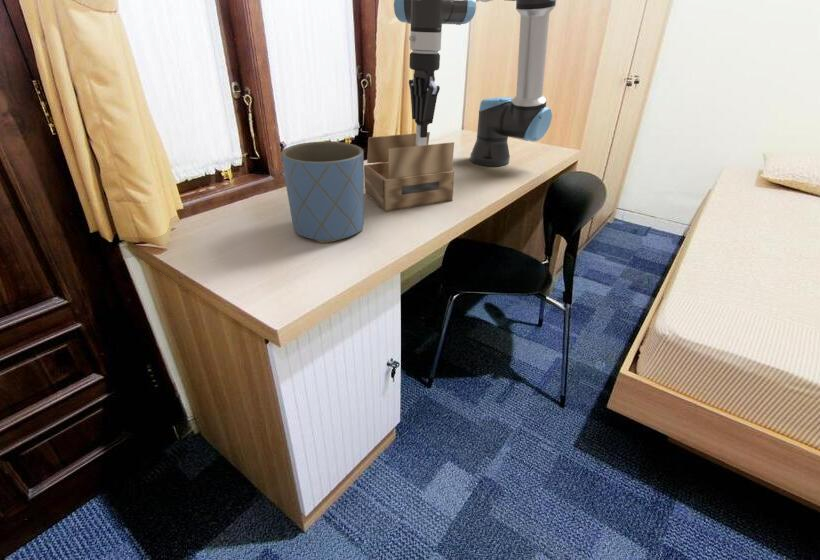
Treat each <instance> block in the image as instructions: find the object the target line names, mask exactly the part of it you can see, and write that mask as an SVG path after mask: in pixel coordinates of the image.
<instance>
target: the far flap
mask: <svg viewBox="0 0 820 560" xmlns="http://www.w3.org/2000/svg"><path fill="white" fill-rule="evenodd" d="M430 135H431V133H430V131H427V145H429V140H430ZM411 146H416V132H414V133H402V134H393V135H392V134H391V135H382V136H369V137H368V139H367V158H366V159H367V160H366V161H367V163H366V164H377V163H386V162H388V149H392V148H402V147H411Z"/></svg>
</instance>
